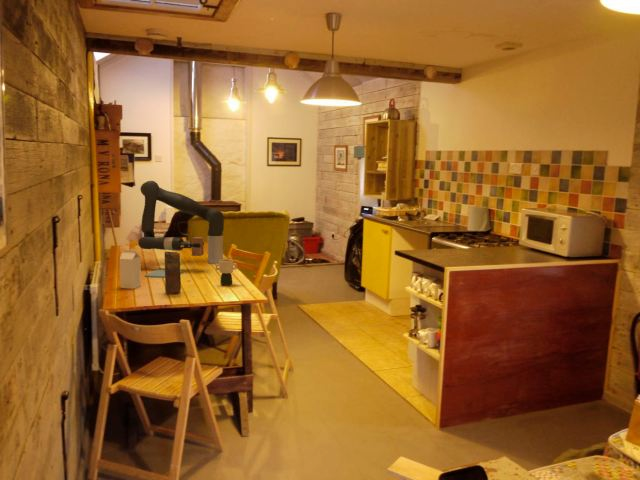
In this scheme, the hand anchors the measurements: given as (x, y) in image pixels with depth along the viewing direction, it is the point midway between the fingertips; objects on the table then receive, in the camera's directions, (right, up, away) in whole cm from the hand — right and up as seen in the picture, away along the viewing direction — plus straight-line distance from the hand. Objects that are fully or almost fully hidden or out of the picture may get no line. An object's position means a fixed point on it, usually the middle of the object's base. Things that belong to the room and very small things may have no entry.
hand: (201, 244), depth 307 cm
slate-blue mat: (-19, -17, -6) cm, 26 cm away
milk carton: (-28, -21, -36) cm, 50 cm away
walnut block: (-3, -6, +1) cm, 7 cm away
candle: (-4, -23, -45) cm, 51 cm away
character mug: (+19, -21, -27) cm, 39 cm away
